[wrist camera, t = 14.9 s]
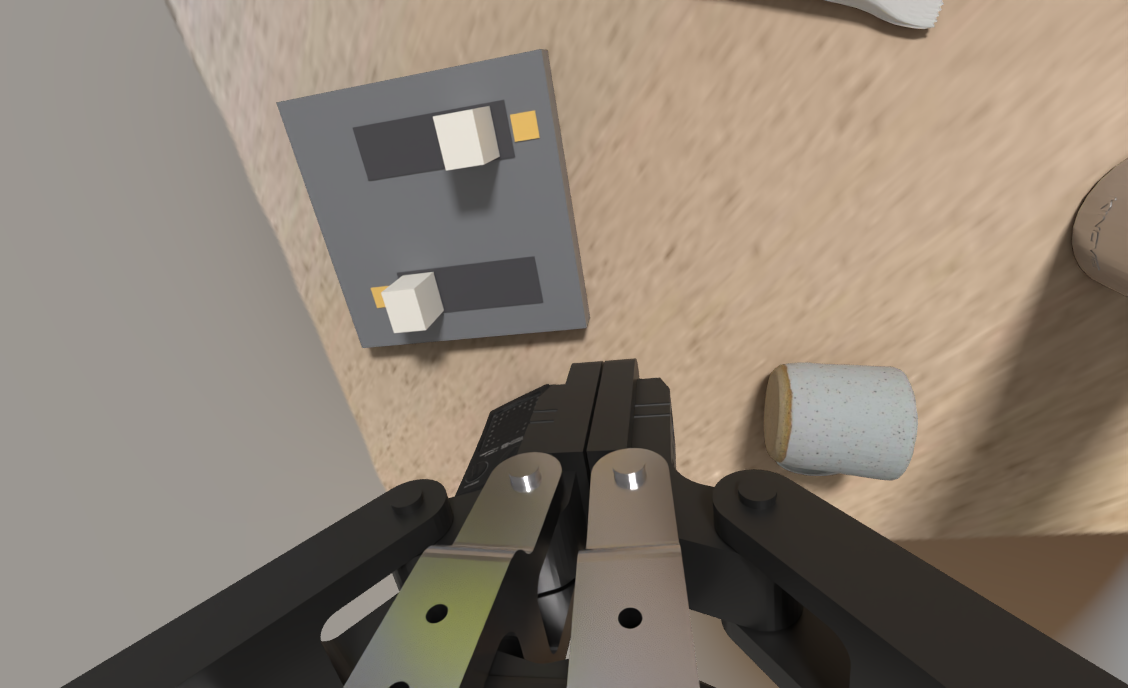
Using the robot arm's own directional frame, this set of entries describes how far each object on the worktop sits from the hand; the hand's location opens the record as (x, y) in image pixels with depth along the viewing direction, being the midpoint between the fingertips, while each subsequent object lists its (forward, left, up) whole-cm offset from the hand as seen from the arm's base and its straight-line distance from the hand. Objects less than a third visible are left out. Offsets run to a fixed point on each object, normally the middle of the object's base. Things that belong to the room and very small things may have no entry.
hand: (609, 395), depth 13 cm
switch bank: (+14, 0, -27) cm, 30 cm away
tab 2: (+10, -5, -25) cm, 27 cm away
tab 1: (+16, +5, -25) cm, 30 cm away
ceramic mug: (-11, +18, -27) cm, 35 cm away
